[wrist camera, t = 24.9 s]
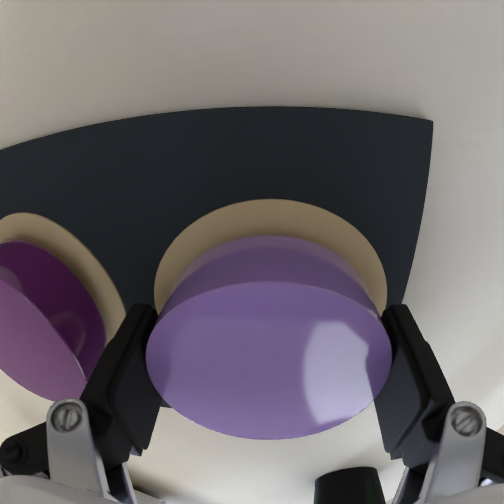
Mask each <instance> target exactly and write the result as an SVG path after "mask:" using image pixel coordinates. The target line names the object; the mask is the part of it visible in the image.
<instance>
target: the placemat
mask: <svg viewBox="0 0 504 504" xmlns="http://www.w3.org/2000/svg"><path fill="white" fill-rule="evenodd" d="M432 135H433V121H431V120H426V119H420V118H414V117H408V116H401V115H394V114H387V113H379V112H370V111H360V110H349V109H336V108H318V107H285V106H264V107H230V108H213V109H199V110H188V111H178V112H169V113H161V114H153V115H146V116H139V117H133V118H126V119H120V120H115V121H109V122H104V123H99V124H94V125H89V126H85V127H80V128H76V129H72V130H67V131H63V132H59V133H55V134H52V135H48V136H44V137H41V138H37V139H34V140H30V141H27V142H24V143H20V144H17V145H14V146H11V147H8V148H5V149H2V150H0V241H2V240H4V239H10V238H18V239H23V240H27V241H30V242H32V243H35V244H37V245H38V246H40V247H42V248H44V249H45V250H47V251H48V252H50V253H51V254H53V255H54V256H55V257H56V258H58V259H59V260H60V261H61V262H62V263H63V264H64V265H65V266H66V267H68V268H69V269H70V270H71V271H72V273H73V274H74V275H75V276H76V277H77V278H78V279H79V280H80V282H81V283H82V284H83V286H84V287H85V288H86V290H87V291H88V292H89V294H90V296H91V297H92V299H93V300H94V302H95V304H96V306H97V307H98V309H99V311H100V314H101V316H102V318H103V321H104V324H105V327H106V332H107V342H108V343H109V341H110V340H111V339H113V338H114V336H115V334H116V332H117V330H118V329H119V327H120V325H121V323H122V321H123V320H124V318H125V316H126V314H127V313H128V311H129V309H130V307H131V306H132V304H133V303H144V304H150V305H151V306H152V308H155V309H156V310H157V313H158V316H159V314H160V311H161V309H162V307H163V305H164V303H165V300H166V298H167V296H168V294H169V292H170V289H171V287H172V286H173V284H174V282H175V280H176V279H177V277H178V276H179V274H180V273H181V272H182V271H183V270H184V268H185V267H186V266H187V265H189V264H190V263H191V262H192V261H193V260H194V259H195V258H197V257H198V256H200V255H202V254H203V253H205V252H206V251H208V250H210V249H212V248H214V247H216V246H218V245H221V244H223V243H226V242H229V241H233V240H236V239H240V238H246V237H251V236H263V235H278V236H289V237H295V238H300V239H305V240H308V241H311V242H314V243H317V244H320V245H322V246H324V247H326V248H328V249H330V250H332V251H334V252H335V253H337V254H338V255H340V256H341V257H343V258H344V259H346V260H347V261H348V262H349V263H350V264H351V265H352V266H353V267H354V268H355V269H356V270H357V271H358V272H359V274H360V275H361V276H362V278H363V279H364V281H365V283H366V285H367V287H368V289H369V291H370V293H371V295H372V298H373V300H374V302H375V305H376V307H377V309H378V312H379V314H380V316H382V312H383V310H386V309H387V308H388V306H389V305H399V304H401V303H402V300H403V297H404V293H405V289H406V286H407V282H408V278H409V274H410V270H411V266H412V262H413V258H414V253H415V249H416V244H417V240H418V235H419V230H420V225H421V219H422V214H423V208H424V202H425V196H426V189H427V182H428V175H429V166H430V157H431V147H432ZM160 407H167V408H172V407H171V406H170V405H169V404H168V403H167V402H166V401H165V400H164V399H162V402H161V405H160Z"/></svg>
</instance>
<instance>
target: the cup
mask: <svg viewBox="0 0 504 504" xmlns="http://www.w3.org/2000/svg"><path fill="white" fill-rule="evenodd" d="M314 504H386V502H385V499H384V495H383V491H382V487H381V484H380V480H379V476H378V473H377V470H376V469H375V468H371V467H358V468H350V469H345V470H340V471H336V472H332V473H329V474H326V475H324V476H322V477H320V478H318V479H317V480H316V481H315V494H314Z"/></svg>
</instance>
